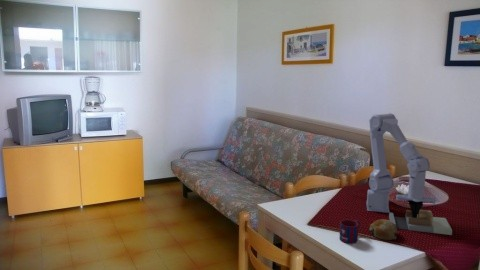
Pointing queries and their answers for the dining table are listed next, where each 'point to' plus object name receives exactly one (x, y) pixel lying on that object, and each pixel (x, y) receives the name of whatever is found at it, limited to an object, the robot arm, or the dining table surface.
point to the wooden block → (425, 215)
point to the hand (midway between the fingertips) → (413, 218)
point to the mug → (349, 231)
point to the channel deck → (421, 224)
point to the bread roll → (383, 229)
